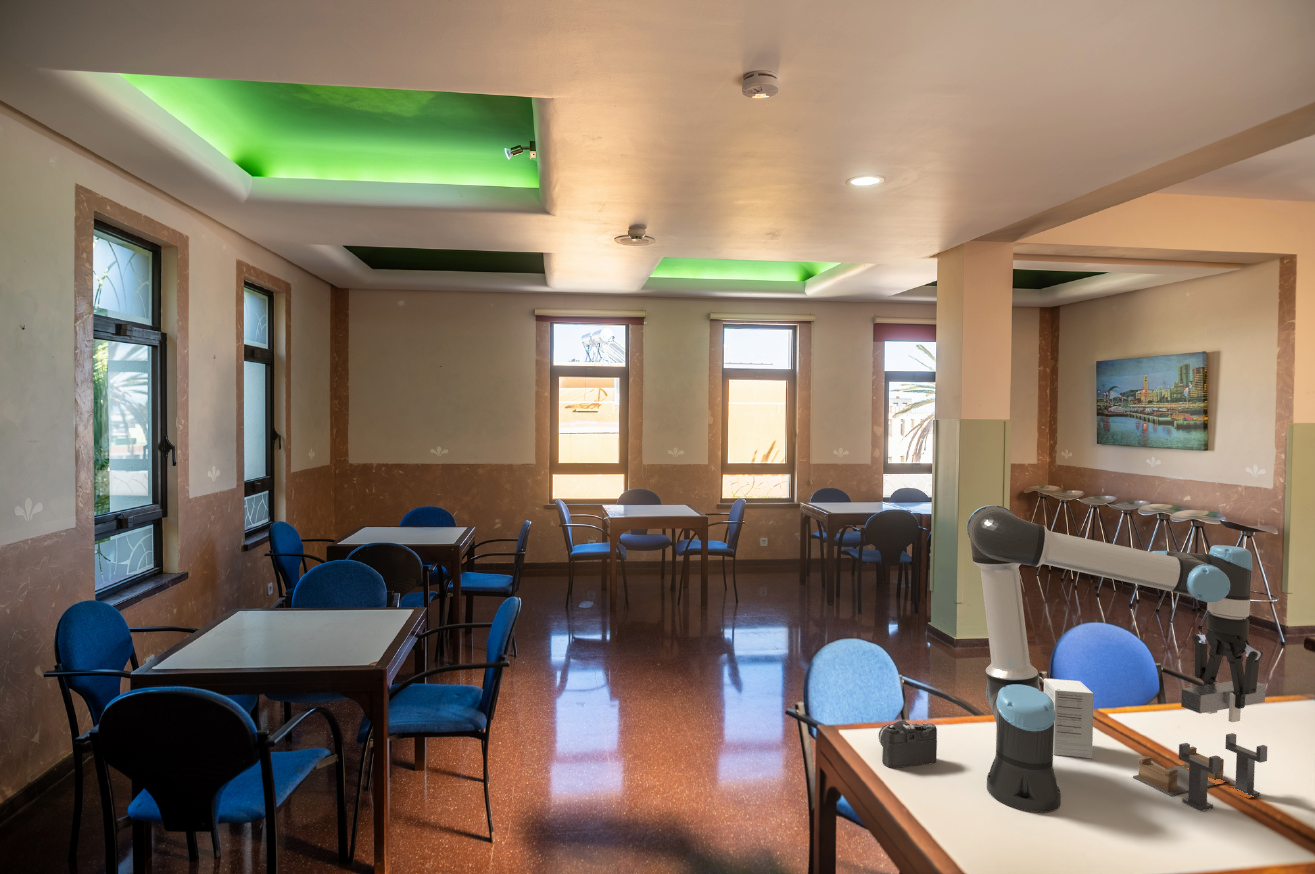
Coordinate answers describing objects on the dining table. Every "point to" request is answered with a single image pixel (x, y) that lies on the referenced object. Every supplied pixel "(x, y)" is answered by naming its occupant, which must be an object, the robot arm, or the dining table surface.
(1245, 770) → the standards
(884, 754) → the camera
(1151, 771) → the bench rests
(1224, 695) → the rail
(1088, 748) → the supplement box
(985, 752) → the dining table surface
